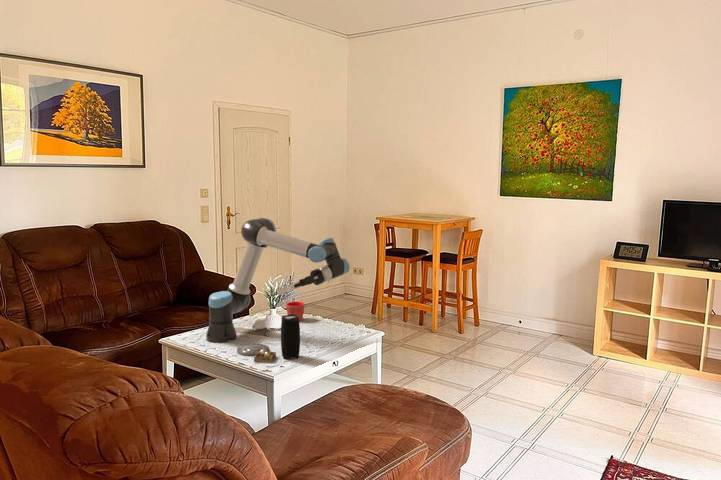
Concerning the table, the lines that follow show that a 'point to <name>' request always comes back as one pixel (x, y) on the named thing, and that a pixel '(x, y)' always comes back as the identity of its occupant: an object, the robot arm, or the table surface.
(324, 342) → the table surface
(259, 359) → the walnut dish
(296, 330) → the portable speaker
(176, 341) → the table surface
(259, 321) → the penguin
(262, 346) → the slate trivet
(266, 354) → the brass ball
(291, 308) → the flower pot
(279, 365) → the table surface
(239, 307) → the robot arm
